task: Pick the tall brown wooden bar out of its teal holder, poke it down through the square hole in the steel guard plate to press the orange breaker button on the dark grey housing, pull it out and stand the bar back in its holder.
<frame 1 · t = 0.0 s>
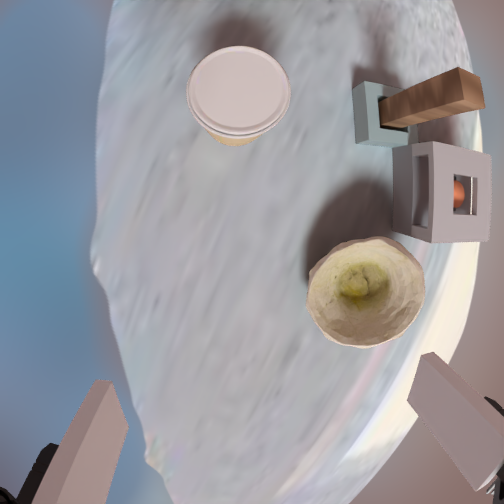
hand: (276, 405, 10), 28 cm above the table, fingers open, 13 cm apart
button: (444, 192, 33), point 5 cm above the table, slide at 0.0 cm
bowl: (346, 280, 40), on the table
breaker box: (424, 191, 38), on the table
coffee cup: (235, 117, 34), on the table
brown wooden bar: (382, 117, 34), point 1 cm above the table, touching holder
holder: (379, 119, 35), on the table
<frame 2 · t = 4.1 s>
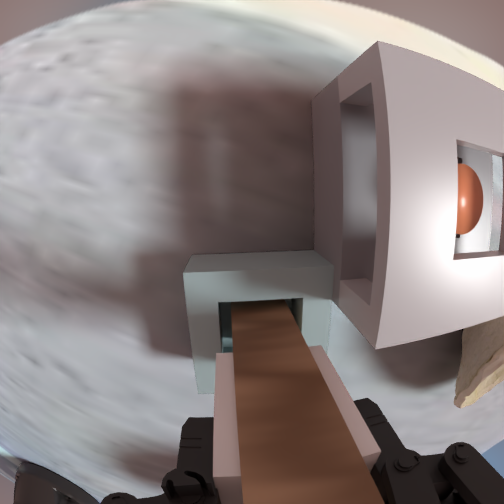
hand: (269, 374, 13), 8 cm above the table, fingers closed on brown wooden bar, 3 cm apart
button: (435, 195, 14), point 5 cm above the table, slide at 0.0 cm
bowl: (474, 326, 23), on the table
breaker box: (392, 191, 19), on the table
brown wooden bar: (256, 315, 19), point 1 cm above the table, touching gripper
holder: (255, 309, 20), on the table
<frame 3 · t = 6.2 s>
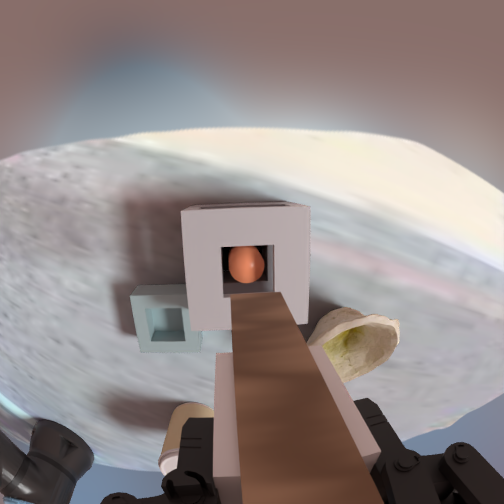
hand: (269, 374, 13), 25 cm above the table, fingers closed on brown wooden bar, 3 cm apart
button: (245, 260, 32), point 5 cm above the table, slide at 0.0 cm
bowl: (333, 332, 41), on the table
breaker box: (242, 250, 37), on the table
coffee cup: (195, 417, 43), on the table
brown wooden bar: (256, 315, 19), point 19 cm above the table, touching gripper
holder: (170, 312, 38), on the table
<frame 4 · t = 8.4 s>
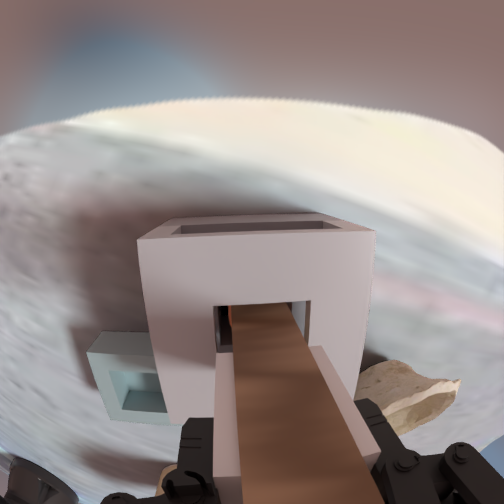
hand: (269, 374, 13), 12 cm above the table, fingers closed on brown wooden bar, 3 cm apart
button: (252, 301, 21), point 3 cm above the table, slide at 1.9 cm, touching brown wooden bar
bowl: (368, 386, 28), on the table
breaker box: (249, 287, 24), on the table
coffee cup: (189, 476, 30), on the table
brown wooden bar: (256, 315, 19), point 6 cm above the table, touching button, gripper
holder: (148, 367, 25), on the table
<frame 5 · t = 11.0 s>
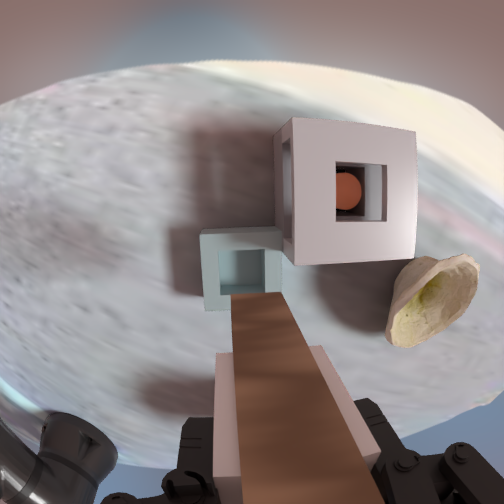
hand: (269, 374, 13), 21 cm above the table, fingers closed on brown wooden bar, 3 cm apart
button: (335, 190, 29), point 3 cm above the table, slide at 1.9 cm
bowl: (407, 288, 36), on the table
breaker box: (326, 190, 32), on the table
brown wooden bar: (256, 315, 19), point 15 cm above the table, touching gripper
holder: (240, 262, 33), on the table
when the fingers open (9 cm above the table, at t = 13.2 s): brown wooden bar drops 1 cm, resting on holder.
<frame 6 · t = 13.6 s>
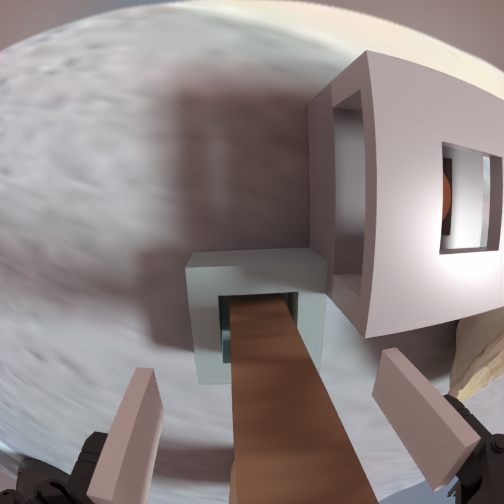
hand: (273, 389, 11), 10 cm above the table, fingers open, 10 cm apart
button: (408, 193, 17), point 3 cm above the table, slide at 1.9 cm
bowl: (469, 323, 24), on the table
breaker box: (385, 191, 20), on the table
brown wooden bar: (253, 309, 20), point 1 cm above the table, touching holder
holder: (253, 304, 21), on the table
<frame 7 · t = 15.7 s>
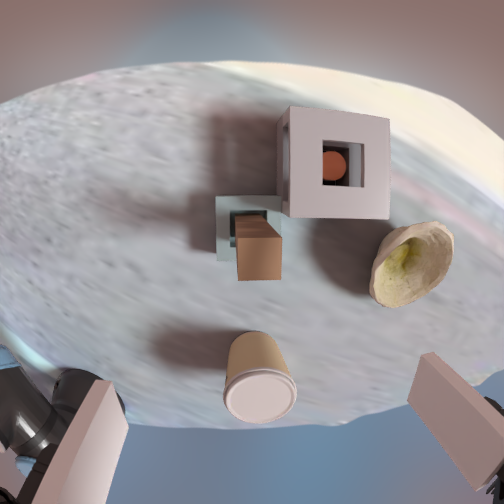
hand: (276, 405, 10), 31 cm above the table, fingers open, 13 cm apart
button: (326, 166, 36), point 3 cm above the table, slide at 1.9 cm
bowl: (391, 256, 43), on the table
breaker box: (319, 167, 39), on the table
coffee cup: (253, 351, 45), on the table
brown wooden bar: (246, 225, 39), point 1 cm above the table, touching holder
holder: (246, 224, 40), on the table
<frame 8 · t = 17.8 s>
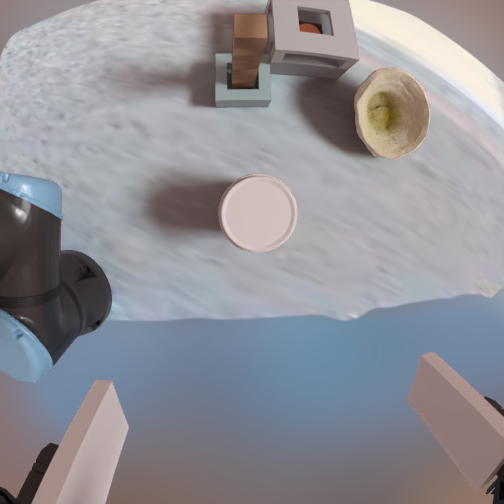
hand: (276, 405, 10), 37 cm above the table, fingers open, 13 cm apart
button: (304, 38, 37), point 3 cm above the table, slide at 1.9 cm
bowl: (375, 121, 44), on the table
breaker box: (300, 46, 40), on the table
coffee cup: (250, 206, 45), on the table
brown wooden bar: (241, 82, 40), point 1 cm above the table, touching holder
holder: (241, 84, 41), on the table
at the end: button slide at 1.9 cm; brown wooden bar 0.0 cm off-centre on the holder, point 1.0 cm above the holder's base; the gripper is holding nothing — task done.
